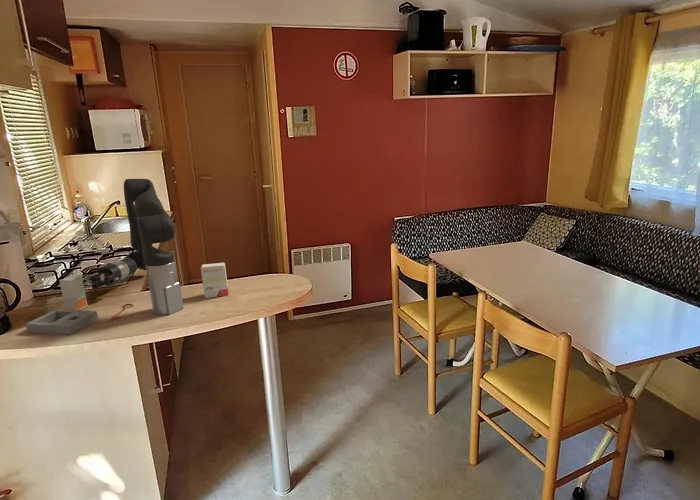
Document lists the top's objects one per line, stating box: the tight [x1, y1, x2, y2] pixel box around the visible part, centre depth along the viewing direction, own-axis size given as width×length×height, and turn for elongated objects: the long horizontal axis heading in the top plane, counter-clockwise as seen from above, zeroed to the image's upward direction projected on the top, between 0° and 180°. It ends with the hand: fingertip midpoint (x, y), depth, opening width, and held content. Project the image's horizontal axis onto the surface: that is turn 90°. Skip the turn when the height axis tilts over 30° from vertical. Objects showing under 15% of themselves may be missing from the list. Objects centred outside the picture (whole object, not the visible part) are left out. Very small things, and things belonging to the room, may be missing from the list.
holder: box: [25, 308, 99, 336], centre depth 151 cm, size 16×12×3 cm
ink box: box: [200, 262, 229, 299], centre depth 172 cm, size 9×5×12 cm, turn 102°
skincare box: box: [58, 274, 88, 310], centre depth 164 cm, size 6×4×12 cm
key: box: [107, 303, 134, 323], centre depth 160 cm, size 6×1×15 cm
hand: (82, 286), depth 168 cm, fingers open, 8 cm apart
